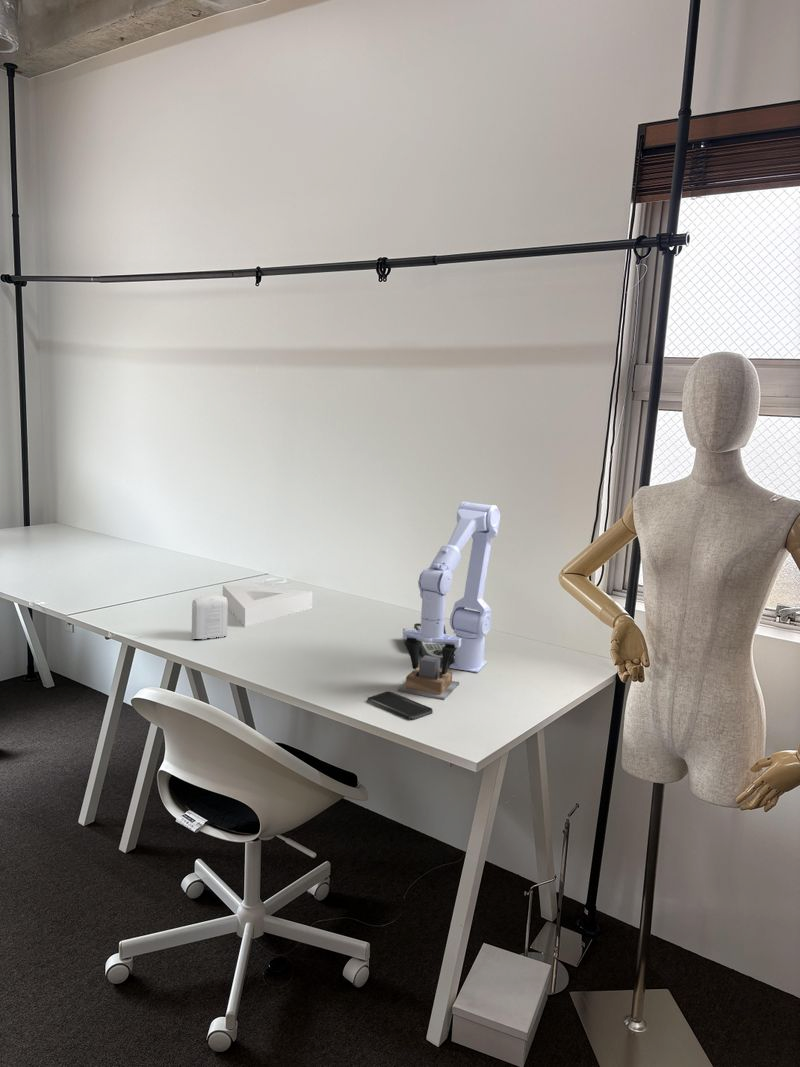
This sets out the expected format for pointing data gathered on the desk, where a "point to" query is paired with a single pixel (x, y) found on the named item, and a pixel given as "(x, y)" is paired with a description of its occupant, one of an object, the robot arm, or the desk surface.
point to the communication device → (430, 646)
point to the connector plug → (429, 667)
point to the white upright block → (209, 617)
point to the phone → (400, 705)
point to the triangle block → (264, 602)
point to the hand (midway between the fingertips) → (429, 670)
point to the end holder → (429, 685)
